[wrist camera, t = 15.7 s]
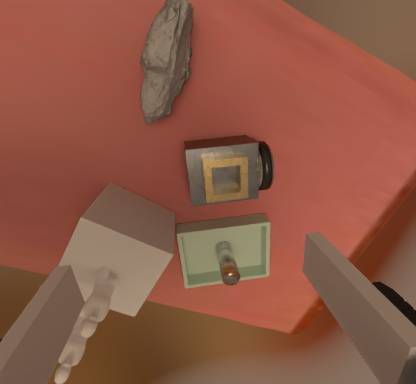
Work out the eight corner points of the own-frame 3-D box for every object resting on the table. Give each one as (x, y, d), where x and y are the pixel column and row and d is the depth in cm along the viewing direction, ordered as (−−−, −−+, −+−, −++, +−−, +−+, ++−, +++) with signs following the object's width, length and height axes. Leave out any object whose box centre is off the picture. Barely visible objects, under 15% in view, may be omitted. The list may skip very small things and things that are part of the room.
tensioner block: (190, 189, 49) (192, 212, 39) (184, 141, 45) (185, 153, 35) (260, 181, 50) (279, 202, 40) (261, 133, 46) (282, 143, 36)
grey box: (175, 212, 50) (171, 310, 27) (139, 273, 55) (109, 399, 32) (108, 181, 46) (37, 266, 23) (76, 250, 51) (-10, 375, 28)
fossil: (172, 127, 44) (168, 141, 30) (137, 114, 42) (116, 122, 28) (206, 25, 38) (220, -15, 24) (167, 5, 37) (159, -50, 23)
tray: (184, 276, 57) (185, 288, 53) (176, 224, 51) (176, 233, 48) (263, 265, 58) (269, 276, 55) (264, 213, 53) (270, 221, 49)
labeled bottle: (215, 254, 55) (222, 286, 46) (214, 241, 54) (221, 271, 44) (231, 252, 55) (240, 283, 46) (230, 239, 54) (240, 268, 44)
